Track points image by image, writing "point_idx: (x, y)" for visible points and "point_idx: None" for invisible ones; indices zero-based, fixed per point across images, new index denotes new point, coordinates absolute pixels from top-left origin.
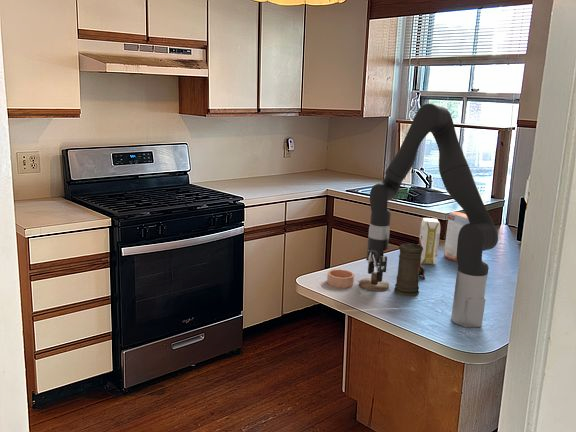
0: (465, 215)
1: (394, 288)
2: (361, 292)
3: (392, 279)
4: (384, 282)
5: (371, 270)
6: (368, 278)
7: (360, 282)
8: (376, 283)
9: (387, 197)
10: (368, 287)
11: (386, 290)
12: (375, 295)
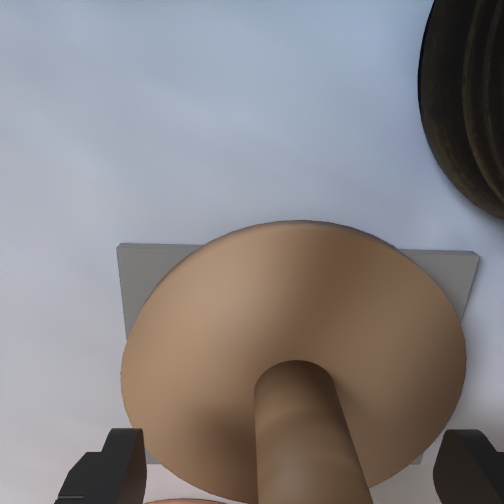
0: None
1: (483, 207)
2: (397, 492)
3: (36, 13)
4: (293, 272)
5: (132, 500)
6: (138, 402)
7: (254, 498)
8: (335, 390)
9: None
10: (393, 472)
11: (459, 303)
12: (498, 421)
